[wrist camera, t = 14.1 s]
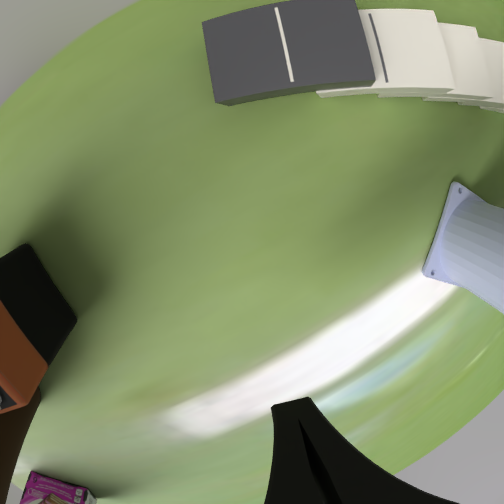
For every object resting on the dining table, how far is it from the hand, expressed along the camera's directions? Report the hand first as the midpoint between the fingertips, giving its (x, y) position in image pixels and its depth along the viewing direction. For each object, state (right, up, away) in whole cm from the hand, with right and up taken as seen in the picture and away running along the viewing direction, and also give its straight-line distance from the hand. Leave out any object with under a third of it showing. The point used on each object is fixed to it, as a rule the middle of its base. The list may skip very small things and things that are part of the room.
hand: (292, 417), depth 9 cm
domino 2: (+2, +17, +5) cm, 18 cm away
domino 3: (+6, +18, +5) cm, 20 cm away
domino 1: (-3, +16, +4) cm, 17 cm away
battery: (-17, +3, +8) cm, 19 cm away
